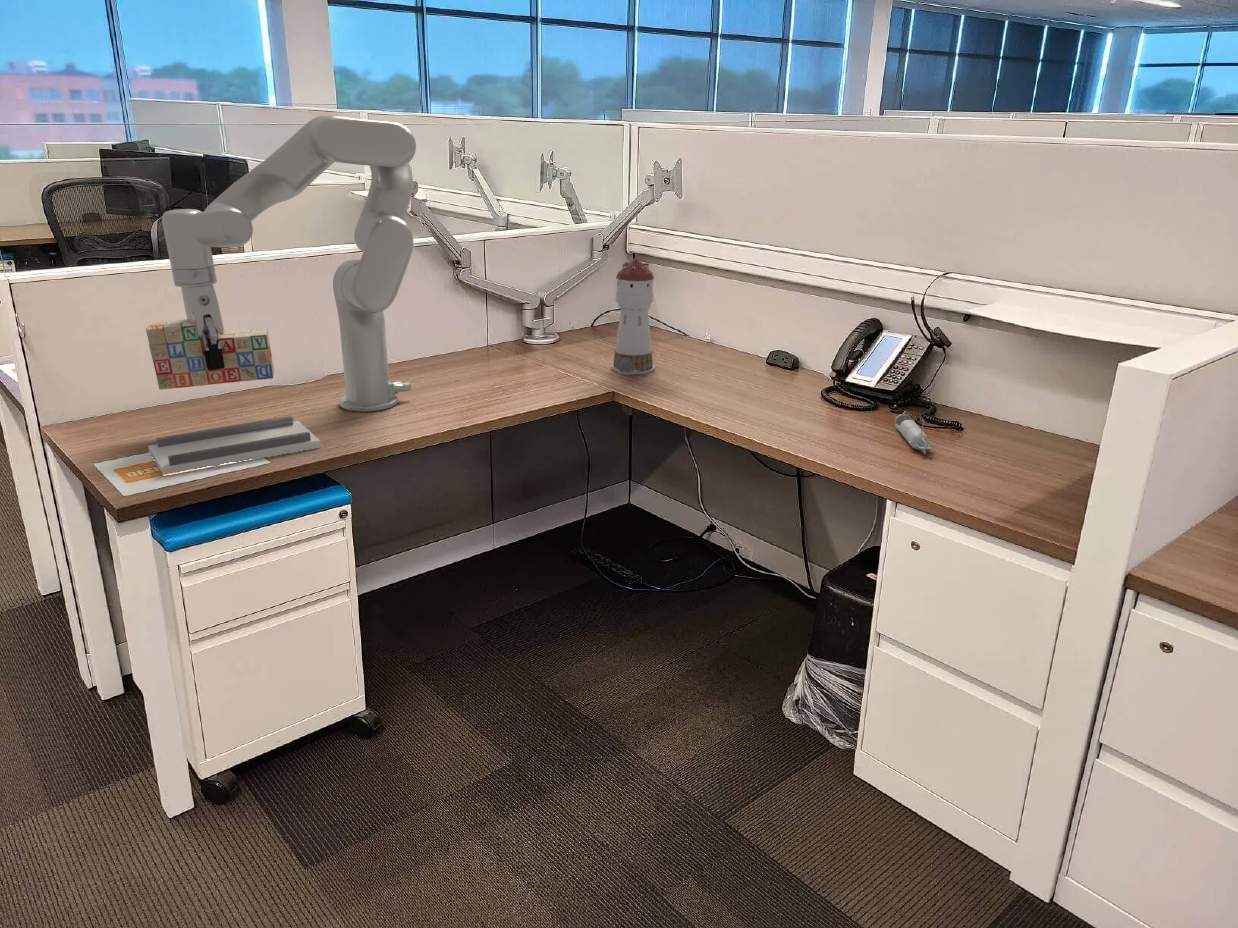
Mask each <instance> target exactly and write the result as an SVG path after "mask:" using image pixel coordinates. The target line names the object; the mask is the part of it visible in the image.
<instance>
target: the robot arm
mask: <svg viewBox="0 0 1238 928" xmlns="http://www.w3.org/2000/svg"><path fill="white" fill-rule="evenodd" d="M416 151H417V142H416V139H415V136H414V134H413V132H412V131H411V130H410V129H409V128H408V127H407V126H405V125H404V124H402V123H399V122H394V121H393V122H392V121H381V120H380V121H379V120H372V119H371V120H370V119H358V118H352V117H345V116H340V115H318V116H315V117H313V118H312V119H310V120H309V121H307V122H306V123H305V124H304V125H302V126H301V127H300V129H298V130H297V131H296V132H295V133H294V134H293V135H291V136H290V138H288V139H287V140H285V142H284V143H283V144H282V145H281V146H280V147H279V148H277V149H276V150H275V151H274V152H272V153H271V154H270V155H269V156H268V157H267V158H265V159H264V160H263V161H261V162H260V163H258V164H257V165H256V166H255V167H254V168H252V169H251V170H250V171H248V172H247V173H246V174H244V175H243V176H242V177H240V178H239V179H237V180H236V181H234V183H232V184H231V185H230V186H229V187H227V188H226V189H225V190H224V191H223V192H222V193H221V194H219V195H218V196H217V198H215V199H214V200H213V201H212V202H211V203H210V204H208V206H207V207H206V208H205V209H204V211H201V210H199V209H194V208H183V209H182V208H180V209H179V208H177V209H171V210H167V211H164V213H163V214H162V216H161V223H162V228H163V232H164V238H165V242H166V243H165V244H166V248H167V253H168V258H169V262H170V268H171V273H172V278H173V284H174V286H175V287H179V288H181V294H182V300H183V305H184V310H185V316H186V319H188V321H189V322H190V323H191V324H193V325H194V328H195V331H196V334H197V336H199V337H202V341H203V344H204V348H205V350H204V356H205V361H206V366H207V369H208V370H209V371H210V370H217V369H223V368H224V367H225V366H224V360H223V355H222V349H221V346H220V342H219V339H218V335H217V332H218V333H219V334H221V335H222V334H224V331H225V328H224V324H223V319H222V314H221V310H220V306H219V302H218V301H219V300H218V297H217V293H216V289H215V288H214V284H216V283H217V282H218V281H217V274H216V269H215V263H214V257H213V252H212V248H231V249H233V248H235V249H236V248H239V247H242V246H244V245H246V244H247V243H248V242H249V241H250V240H251V238H252V237H253V233H254V226H253V220H255V219H256V218H257V217H258V216H259V215H261V214H262V213H263V212H265V211H266V210H268V209H269V208H271V207H272V206H274V205H277V204H279V203H282V202H285V201H289V200H290V199H293V198H295V197H296V196H297V197H298V195H299V194H301V193H302V192H303V191H304V190H305V189H306V188H307V187H309V186H310V185H311V184H312V183H313V182H314V181H315V180H316V179H317V178H318V177H319V176H321V175H322V174H323V173H325V171H326V170H328V169H329V168H330V167H331V166H332V165H333V164H334V163H339V164H348V165H357V166H358V165H359V166H368V167H369V168H370V173H371V178H370V179H371V180H370V186H369V189H368V193H367V196H366V199H365V202H364V205H363V207H362V210H361V213H360V215H359V217H358V220H357V222H356V225H355V228H354V234H353V239H354V242H355V245H356V247H357V248H358V250H360V251H361V252H362V254H361V258H360V259H350V260H346V261H344V262H343V263H341V264H340V265H339V266H338V267H337V268H336V270H335V272H334V274H333V279H332V290H333V297H334V301H335V304H336V308H337V316H338V323H339V331H340V332H339V334H340V344H341V355H342V365H343V374H344V376H343V377H344V383H345V384H344V386H345V387H344V388H345V395H343V396H342V397H340V398H339V406H340V407H341V408H342V409H344V410H347V411H351V412H364V413H365V412H376V411H377V412H378V411H382V410H387V409H390V408H393V407H394V406H396V405H397V404H398V402H399V397H398V394H399V393H400V392H402V393H403V392H410V391H411V390H412V385H411V382H403V383H401V381H397V382H392V381H390V373H389V361H388V360H389V359H388V346H387V332H386V331H387V330H386V322H385V315H384V311H386V310H387V309H388V308H390V306H391V305H392V304H393V302H394V301H395V299H396V297H397V295H398V293H399V290H400V288H401V284H402V283H403V280H404V277H405V275H406V271H407V269H408V266H409V263H410V261H411V258H412V254H413V249H414V236H413V231H412V229H411V228H410V226H409V225H408V223H407V222H406V221H405V218H406V216H407V214H408V213H407V212H408V208H409V205H410V203H411V199H412V195H413V190H414V183H413V181H414V180H413V173H412V169H411V165H410V162H411V161H412V160H413V158H414V156H415V154H416ZM204 323H205V324H204ZM214 326H215V327H214ZM215 328H216V329H217V332H216V329H215ZM206 331H208V334H204V333H205V332H206ZM208 338H209V339H208ZM206 339H208V340H207V341H206Z"/></svg>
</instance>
